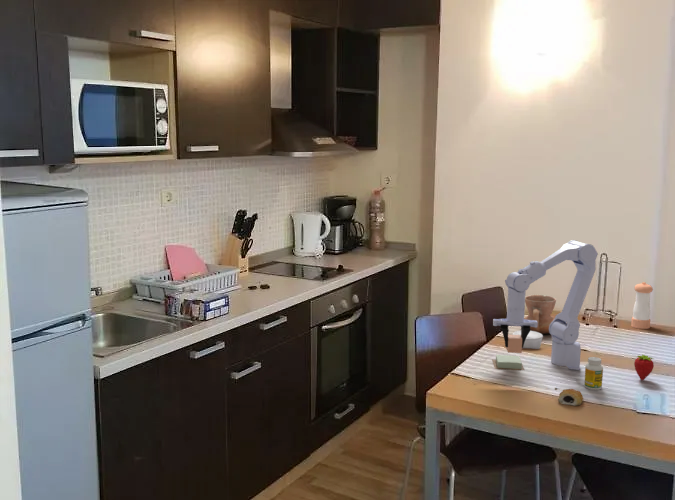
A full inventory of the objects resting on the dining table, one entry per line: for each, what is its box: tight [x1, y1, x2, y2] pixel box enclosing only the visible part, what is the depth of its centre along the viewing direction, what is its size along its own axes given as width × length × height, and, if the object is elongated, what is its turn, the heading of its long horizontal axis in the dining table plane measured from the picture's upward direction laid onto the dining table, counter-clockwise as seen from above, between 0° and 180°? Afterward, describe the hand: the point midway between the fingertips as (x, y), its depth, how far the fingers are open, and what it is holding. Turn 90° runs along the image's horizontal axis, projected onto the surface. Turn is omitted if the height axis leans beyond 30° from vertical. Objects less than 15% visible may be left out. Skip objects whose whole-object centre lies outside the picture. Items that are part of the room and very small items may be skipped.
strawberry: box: [633, 354, 655, 381], centre depth 229 cm, size 6×8×10 cm
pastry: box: [557, 388, 584, 407], centre depth 212 cm, size 9×7×4 cm
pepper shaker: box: [630, 281, 654, 330], centre depth 292 cm, size 7×7×19 cm
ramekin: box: [511, 329, 544, 350], centre depth 264 cm, size 11×11×5 cm
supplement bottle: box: [584, 356, 604, 391], centre depth 223 cm, size 5×5×10 cm
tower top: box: [495, 354, 523, 369], centre depth 241 cm, size 8×8×2 cm
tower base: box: [491, 359, 525, 371], centre depth 241 cm, size 10×10×2 cm
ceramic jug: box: [524, 294, 557, 335], centre depth 284 cm, size 18×14×14 cm
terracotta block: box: [505, 334, 523, 354], centre depth 237 cm, size 4×4×5 cm
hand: (513, 346), depth 238 cm, fingers closed on terracotta block, 4 cm apart
